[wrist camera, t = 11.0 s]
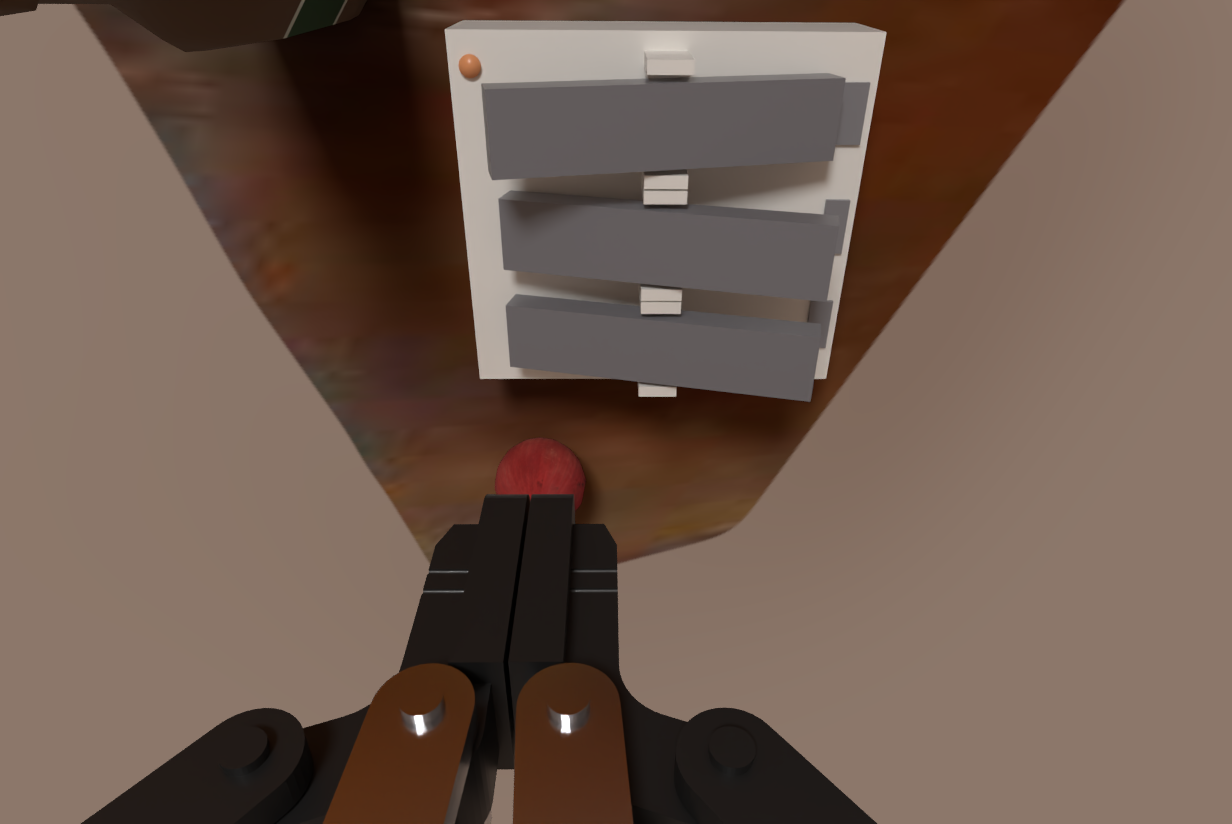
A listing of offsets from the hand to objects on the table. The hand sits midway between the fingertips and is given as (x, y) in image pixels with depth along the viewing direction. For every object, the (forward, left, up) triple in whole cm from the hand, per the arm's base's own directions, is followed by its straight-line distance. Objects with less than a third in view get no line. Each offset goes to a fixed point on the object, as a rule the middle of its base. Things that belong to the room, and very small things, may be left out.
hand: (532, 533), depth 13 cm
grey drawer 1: (-2, +4, -25) cm, 26 cm away
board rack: (+4, +4, -33) cm, 33 cm away
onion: (+21, -3, -33) cm, 39 cm away
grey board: (+9, +4, -25) cm, 27 cm away
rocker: (+4, +4, -25) cm, 26 cm away
